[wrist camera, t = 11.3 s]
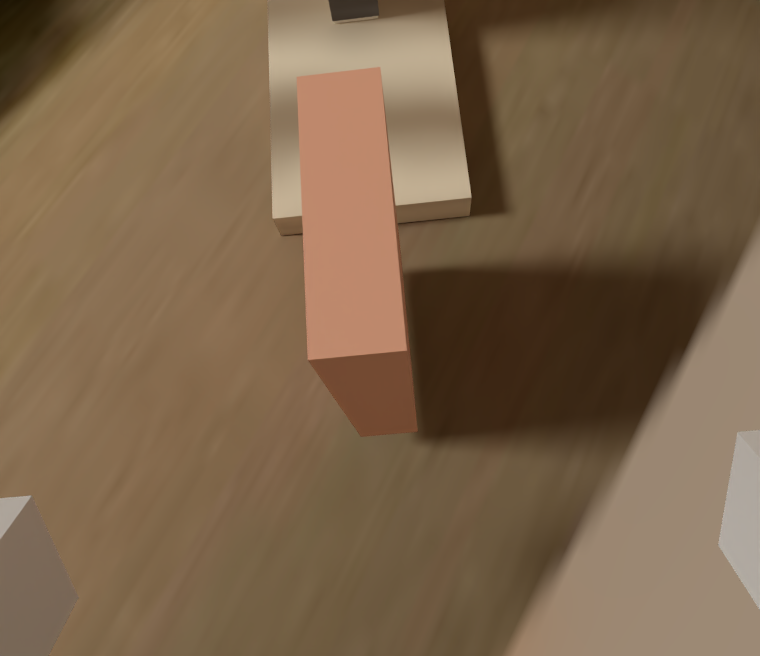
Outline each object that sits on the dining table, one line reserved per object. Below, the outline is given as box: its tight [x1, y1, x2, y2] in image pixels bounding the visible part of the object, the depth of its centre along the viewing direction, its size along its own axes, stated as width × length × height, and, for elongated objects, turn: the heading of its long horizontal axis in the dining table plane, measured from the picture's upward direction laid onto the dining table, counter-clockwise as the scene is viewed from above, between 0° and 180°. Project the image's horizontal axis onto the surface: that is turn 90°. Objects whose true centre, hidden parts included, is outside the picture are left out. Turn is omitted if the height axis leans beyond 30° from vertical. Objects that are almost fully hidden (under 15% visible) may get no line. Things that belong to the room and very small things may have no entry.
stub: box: [297, 67, 418, 437], centre depth 19 cm, size 7×2×10 cm, turn 4°
